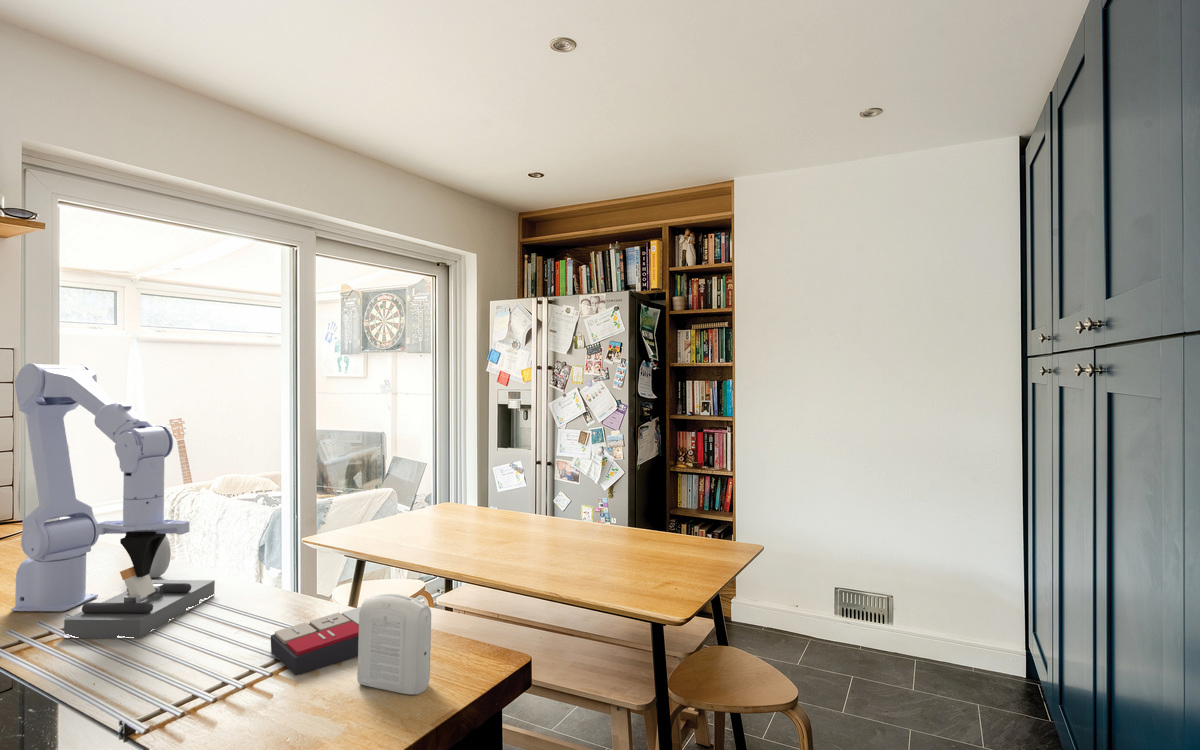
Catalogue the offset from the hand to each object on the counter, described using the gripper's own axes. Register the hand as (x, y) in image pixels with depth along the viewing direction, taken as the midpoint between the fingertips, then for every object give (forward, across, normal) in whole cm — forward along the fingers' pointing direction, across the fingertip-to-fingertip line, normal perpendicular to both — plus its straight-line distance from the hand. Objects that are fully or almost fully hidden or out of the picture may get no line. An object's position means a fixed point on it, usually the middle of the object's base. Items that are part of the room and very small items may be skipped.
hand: (143, 575), depth 108 cm
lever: (+4, 0, 0) cm, 4 cm away
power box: (+8, -1, +2) cm, 8 cm away
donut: (+8, -14, +23) cm, 28 cm away
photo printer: (+8, +50, -23) cm, 56 cm away
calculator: (+9, +37, -11) cm, 40 cm away
